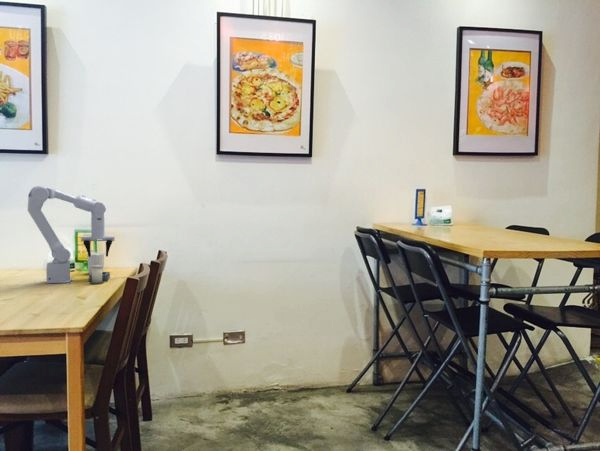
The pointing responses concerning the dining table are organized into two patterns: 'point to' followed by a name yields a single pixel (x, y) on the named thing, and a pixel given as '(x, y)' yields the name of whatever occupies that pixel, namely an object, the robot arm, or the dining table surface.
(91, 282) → the mat
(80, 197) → the robot arm
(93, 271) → the end cover
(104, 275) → the housing
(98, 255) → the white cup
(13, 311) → the dining table surface
